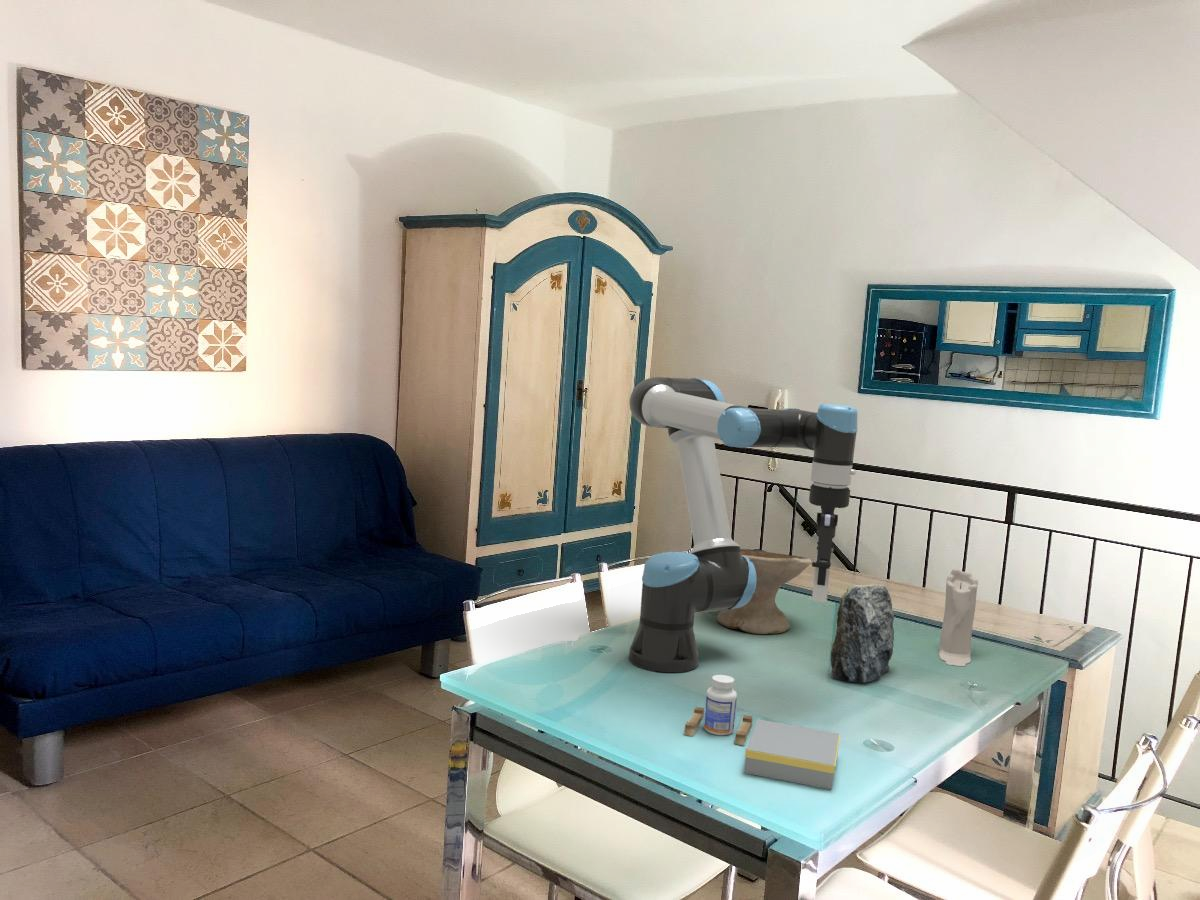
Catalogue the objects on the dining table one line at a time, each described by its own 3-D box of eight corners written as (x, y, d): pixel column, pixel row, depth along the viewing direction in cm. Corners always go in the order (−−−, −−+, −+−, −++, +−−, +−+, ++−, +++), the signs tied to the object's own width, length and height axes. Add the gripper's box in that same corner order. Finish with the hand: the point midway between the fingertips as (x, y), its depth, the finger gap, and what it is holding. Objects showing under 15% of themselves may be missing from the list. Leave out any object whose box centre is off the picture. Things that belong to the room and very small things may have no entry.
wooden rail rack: (684, 734, 173) (684, 725, 173) (695, 715, 183) (696, 706, 183) (743, 745, 170) (744, 735, 170) (751, 725, 180) (752, 716, 180)
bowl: (819, 624, 251) (826, 548, 249) (782, 646, 230) (790, 563, 228) (727, 605, 265) (734, 532, 263) (685, 624, 243) (692, 545, 241)
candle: (939, 663, 226) (948, 578, 223) (938, 647, 239) (947, 566, 236) (972, 668, 223) (981, 583, 221) (970, 652, 236) (979, 571, 234)
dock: (743, 772, 159) (745, 749, 159) (755, 740, 173) (757, 719, 172) (832, 790, 155) (835, 765, 155) (837, 755, 169) (840, 733, 168)
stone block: (859, 689, 204) (869, 595, 202) (823, 676, 211) (832, 586, 208) (903, 672, 217) (913, 585, 215) (868, 661, 223) (876, 576, 221)
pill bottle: (714, 721, 180) (718, 670, 179) (739, 730, 177) (744, 678, 176) (697, 729, 176) (702, 677, 175) (723, 738, 173) (727, 685, 172)
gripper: (851, 496, 175) (839, 611, 178) (849, 478, 199) (839, 580, 202) (809, 491, 177) (797, 605, 179) (812, 475, 201) (802, 576, 204)
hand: (819, 592), depth 191 cm, fingers open, 13 cm apart
